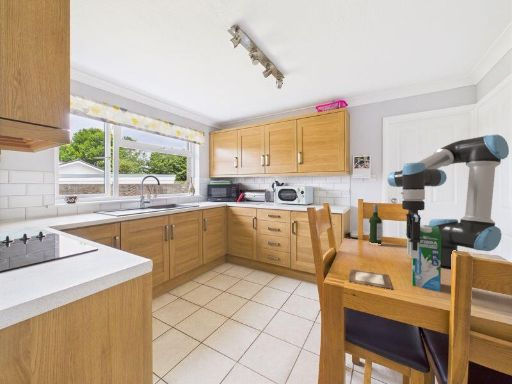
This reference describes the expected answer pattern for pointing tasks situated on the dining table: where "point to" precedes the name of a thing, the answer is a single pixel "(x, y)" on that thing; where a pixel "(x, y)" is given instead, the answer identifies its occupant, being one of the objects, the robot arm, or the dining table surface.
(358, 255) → the dining table surface
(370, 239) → the wine bottle
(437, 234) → the milk carton
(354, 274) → the rest board
